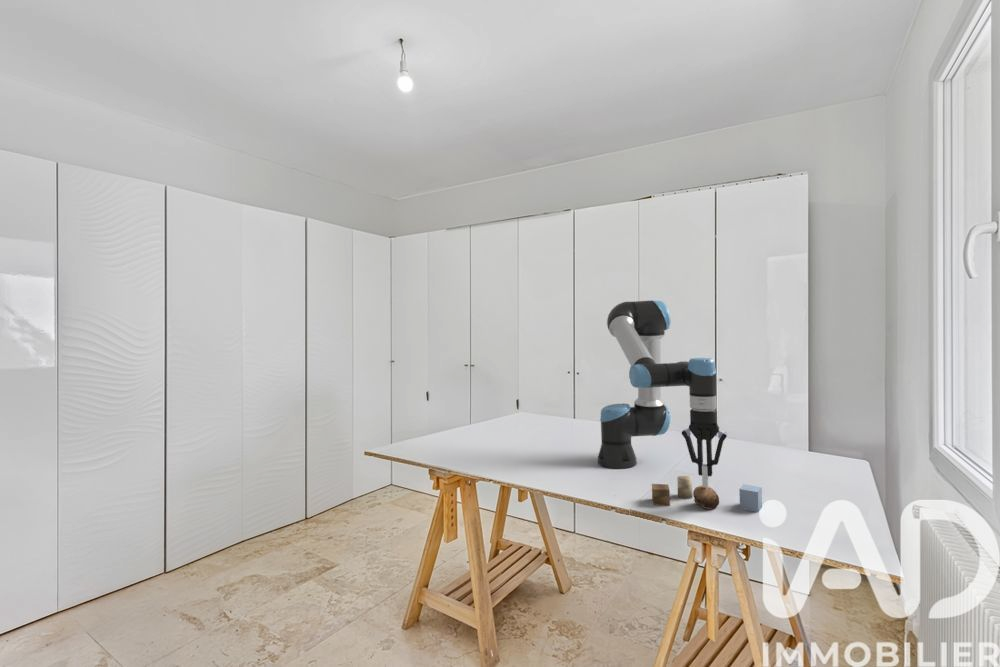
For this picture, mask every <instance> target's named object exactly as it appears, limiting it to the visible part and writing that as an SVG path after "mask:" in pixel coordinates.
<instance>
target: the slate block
mask: <svg viewBox="0 0 1000 667" xmlns="http://www.w3.org/2000/svg"><path fill="white" fill-rule="evenodd" d="M738 491H739V509H741V510H745V511H751V512H754V513H759V512H760V510H762V509H763V489H762V486H757V485H752V484H751V485H750V484H744V483H743V484H742V485H741V486H740V488H739V490H738Z"/></svg>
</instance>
